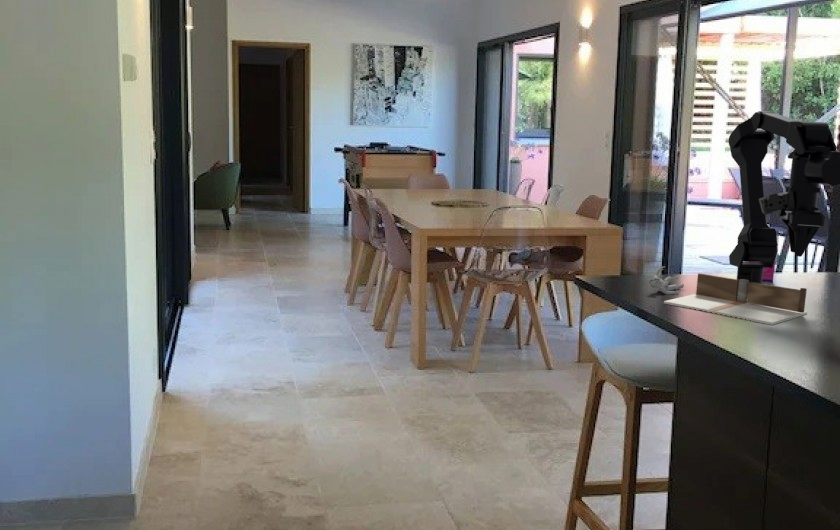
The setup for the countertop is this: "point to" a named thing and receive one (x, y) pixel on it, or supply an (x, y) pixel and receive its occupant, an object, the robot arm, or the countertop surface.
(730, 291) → the fence base
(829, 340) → the countertop surface
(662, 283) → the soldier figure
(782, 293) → the fence panel
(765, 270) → the supplement box
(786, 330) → the countertop surface
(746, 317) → the card
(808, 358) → the countertop surface
